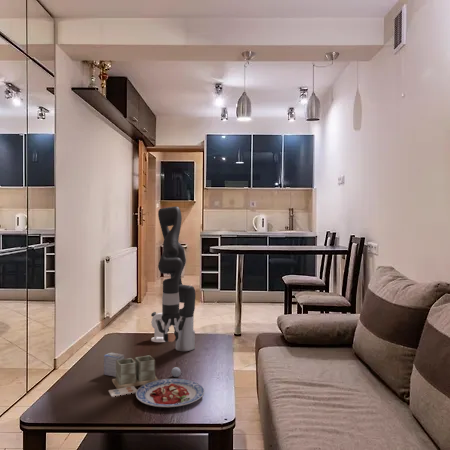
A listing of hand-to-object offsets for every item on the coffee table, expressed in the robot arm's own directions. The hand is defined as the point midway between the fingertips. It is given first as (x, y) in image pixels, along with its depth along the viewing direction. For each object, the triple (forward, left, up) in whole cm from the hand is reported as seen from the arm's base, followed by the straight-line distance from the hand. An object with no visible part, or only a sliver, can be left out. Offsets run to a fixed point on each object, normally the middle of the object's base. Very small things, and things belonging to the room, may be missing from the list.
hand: (170, 340), depth 186 cm
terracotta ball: (0, 0, +1) cm, 1 cm away
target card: (+25, +14, -13) cm, 31 cm away
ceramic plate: (+10, +26, -14) cm, 31 cm away
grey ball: (+1, +8, -11) cm, 14 cm away
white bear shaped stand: (-12, -49, -14) cm, 52 cm away
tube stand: (+18, +6, -13) cm, 23 cm away
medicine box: (+24, -6, -14) cm, 28 cm away
